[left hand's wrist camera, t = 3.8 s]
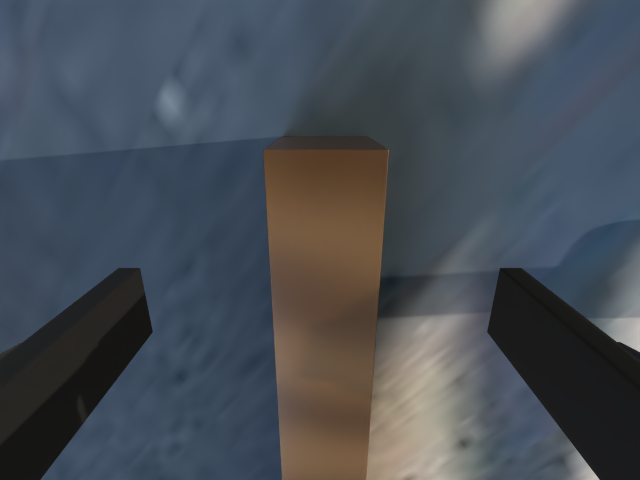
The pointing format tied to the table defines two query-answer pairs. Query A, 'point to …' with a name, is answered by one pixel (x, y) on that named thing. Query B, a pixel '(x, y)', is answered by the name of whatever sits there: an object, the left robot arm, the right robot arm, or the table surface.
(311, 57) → the table surface
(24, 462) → the left robot arm
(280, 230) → the post
